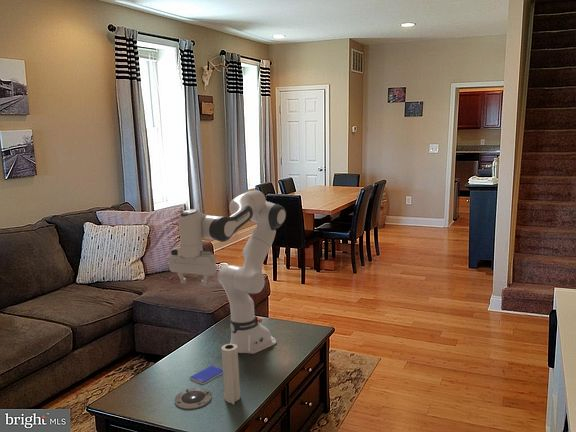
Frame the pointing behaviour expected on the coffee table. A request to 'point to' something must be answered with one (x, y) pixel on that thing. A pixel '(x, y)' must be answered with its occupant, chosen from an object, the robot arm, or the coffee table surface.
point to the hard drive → (206, 375)
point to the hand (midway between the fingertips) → (193, 283)
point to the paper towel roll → (230, 373)
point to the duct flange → (193, 398)
